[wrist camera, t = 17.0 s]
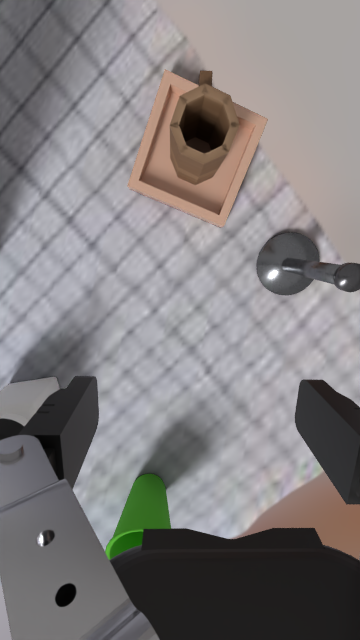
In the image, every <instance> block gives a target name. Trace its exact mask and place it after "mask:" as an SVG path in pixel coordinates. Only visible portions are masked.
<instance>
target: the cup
mask: <svg viewBox="0 0 360 640" xmlns="http://www.w3.org/2000/svg"><path fill="white" fill-rule="evenodd" d="M143 529H171V525H170V518H169V510H168V503H167V496H166V488H165V484H164V483H163V481H162V479H161V478H160V477H158V476H157V475H154V474H144V475H141V476H140V477H138V478H137V479H136V481H135V482H134V484H133V486H132V489H131V491H130V494H129V496H128V499H127V502H126V504H125V507H124V509H123V512H122V515H121V517H120V520H119V522H118V525H117V528H116V530H115V533H114V535H113V538H112V539H111V540H110V541H109V543H108V544H107V546H106V550H105V553H106V555H107V557H108V559H109V560H110V559H112V558H113V557H115V556H117V555H118V554H120V553H122V552H124V551H126V550H128V549H131V548H133V547H136V546H140V545H142V538H143Z"/></svg>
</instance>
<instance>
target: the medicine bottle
mask: <svg viewBox="0 0 360 640" xmlns="http://www.w3.org/2000/svg"><path fill="white" fill-rule="evenodd" d="M59 389H60V388H59V384H58V381H57V378H56V377H49V378H42V379H36V380H30V381H23V382H17V383H10V384H8V385H7V386H6V387H4V388H3V389H2V390H1V391H0V441H1V440H3V439H5V438H9V437H12V436H17V435H18V434H19V433H20V431H21V430H22V429H23V428H24V426H25V425H26V424H27V423H28V421H29V420H30V419H31V418H32V416H33V415H34V414H35V413H36V411H37V410H38V409H39V408H40V406H42V404H43V402H44V401H45V400H46V399H47V397H48V396H49V395H51V394H53V393H54V392H56V391H57V390H59Z"/></svg>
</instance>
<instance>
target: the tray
mask: <svg viewBox="0 0 360 640" xmlns="http://www.w3.org/2000/svg"><path fill="white" fill-rule="evenodd" d="M198 86H199V85H197V84H195V83H192V82H190V81H188V80H186V79H184V78H182V77H180V76H178V75H176V74H174V73H172V72H170V71H168V70H166V69H165V71H164V74H163V77H162V80H161V83H160V86H159V89H158V92H157V95H156V99H155V102H154V105H153V108H152V111H151V114H150V117H149V120H148V123H147V126H146V130H145V133H144V136H143V139H142V142H141V145H140V148H139V151H138V154H137V158H136V161H135V164H134V167H133V170H132V173H131V176H130V179H129V182H128V187H129V188H130V190H133V191H135V192H137V193H140V194H142V195H144V196H147V197H149V198H152V199H154V200H156V201H159V202H161V203H163V204H166V205H168V206H170V207H173V208H175V209H178V210H180V211H182V212H185V213H187V214H189V215H192V216H194V217H196V218H199V219H201V220H204V221H206V222H208V223H211V224H213V225H215V226H218V227H220V228H221V227H224V225H225V222H226V220H227V218H228V215H229V213H230V210H231V208H232V206H233V203H234V201H235V198H236V196H237V193H238V191H239V189H240V186H241V184H242V181H243V179H244V176H245V174H246V172H247V169H248V167H249V164H250V162H251V160H252V157H253V155H254V152H255V150H256V147H257V145H258V143H259V140H260V138H261V135H262V133H263V130H264V128H265V125H266V123H267V121H268V119H267V118H265V117H263V116H261V115H258V114H256V113H254V112H252V111H250V110H248V109H246V108H244V107H242V106H240V105H238V104H236V103H234V102H233V105H234V109H235V112H236V115H237V118H238V121H239V124H240V125H239V128H238V130H237V133H236V135H235V138H234V140H233V143H232V145H231V148H230V150H229V153H228V154H227V156H226V157H225V159H224V161H223V162H222V164H221V165H220V167H219V168H218V170H217V172H216V173H215V175H214V176H213V177H212V178H210V179H208V180H206V181H204V182H202V183H199V184H197V185H193V184H191V183H189V182H187V181H184V180H182V179H180V178H178V177H177V174H176V171H175V169H174V166H173V164H172V161H171V159H170V123H171V120H172V117H173V114H174V111H175V108H176V105H177V102H178V99H179V96H180V95H182V94H184V93H186V92H189V91H191V90H193V89H195V88H197V87H198ZM185 143H186V145H187V146H189V147H191V148H193V149H195V150H197V151H199V152H202V153H204V154H205V153H207V152H210V151H211V148H210V146H209V143H207V142H205V141H203V140H201V139H198V138H196V137H195V138H192V139H190V140H188V141H186V142H185Z"/></svg>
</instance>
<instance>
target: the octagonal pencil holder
mask: <svg viewBox="0 0 360 640" xmlns="http://www.w3.org/2000/svg"><path fill="white" fill-rule="evenodd" d="M239 125H240V124H239V121H238V118H237V115H236V112H235V109H234V105H233V102H232V99H231V96H230V95H228V94H226V93H223V92H222V91H220V90H218V89H216V88H214V87H212V71H200V75H199V86H198V87H197V88H195V89H193V90H191V91H189V92H186V93H184V94H182V95H180V96H179V99H178V102H177V105H176V108H175V111H174V114H173V117H172V120H171V123H170V159H171V161H172V164H173V166H174V169H175V171H176V174H177V177H178V178H180V179H182V180H184V181H187V182H189V183H191V184H193V185H197V184H199V183H202V182H204V181H206V180H208V179H210V178H212V177H213V176H214V175H215V173H216V172H217V170H218V168H219V167H220V165H221V164H222V162H223V161H224V159H225V157H226V156H227V154H228V153H229V150H230V148H231V145H232V143H233V140H234V138H235V135H236V133H237V130H238V128H239ZM195 137H196V138H198V139H201V140H203V141H205V142H207V143H209V146H210V148H211V151H210V152H207V153H205V154H204V153H202V152H199V151H197V150H195V149H193V148H191V147H189V146H187V145H186V143H185V142H186V141H188V140H190V139H192V138H195Z"/></svg>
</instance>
